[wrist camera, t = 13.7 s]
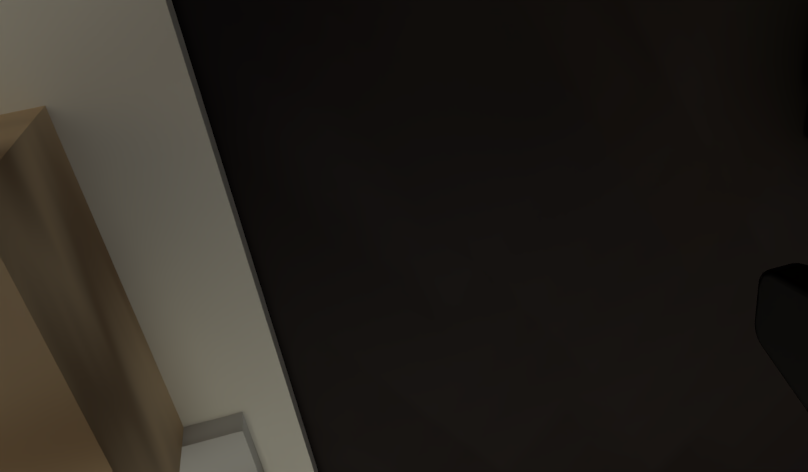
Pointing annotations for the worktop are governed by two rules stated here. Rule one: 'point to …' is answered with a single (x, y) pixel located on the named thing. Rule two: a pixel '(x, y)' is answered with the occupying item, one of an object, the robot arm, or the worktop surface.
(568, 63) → the worktop surface
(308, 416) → the worktop surface
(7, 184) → the turner
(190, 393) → the rest board
